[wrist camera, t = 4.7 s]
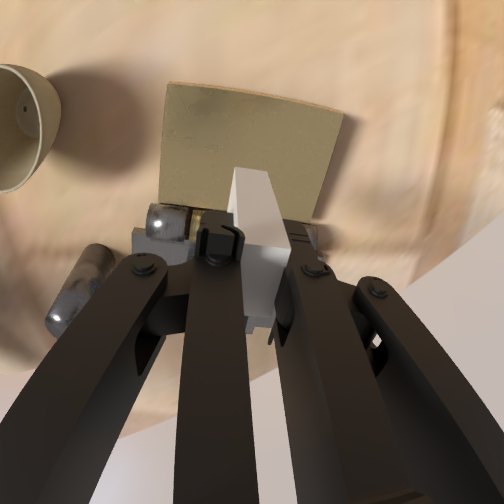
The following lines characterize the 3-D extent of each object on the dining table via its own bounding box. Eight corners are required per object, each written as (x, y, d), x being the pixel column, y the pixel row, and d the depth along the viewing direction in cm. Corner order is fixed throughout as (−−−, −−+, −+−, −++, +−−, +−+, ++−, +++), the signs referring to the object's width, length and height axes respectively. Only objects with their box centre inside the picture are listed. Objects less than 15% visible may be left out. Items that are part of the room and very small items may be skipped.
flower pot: (0, 64, 19) (-51, 76, 13) (88, 51, 20) (43, 54, 14) (4, 162, 24) (-40, 193, 18) (85, 163, 25) (47, 196, 19)
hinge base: (137, 305, 34) (130, 328, 32) (134, 195, 27) (123, 213, 24) (294, 323, 37) (299, 346, 34) (330, 222, 30) (340, 242, 27)
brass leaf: (160, 225, 29) (153, 244, 27) (170, 81, 21) (162, 87, 19) (298, 243, 31) (302, 263, 29) (340, 110, 23) (350, 120, 21)
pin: (85, 270, 32) (51, 339, 23) (81, 241, 30) (40, 309, 21) (116, 274, 32) (87, 347, 24) (113, 245, 30) (79, 317, 22)
